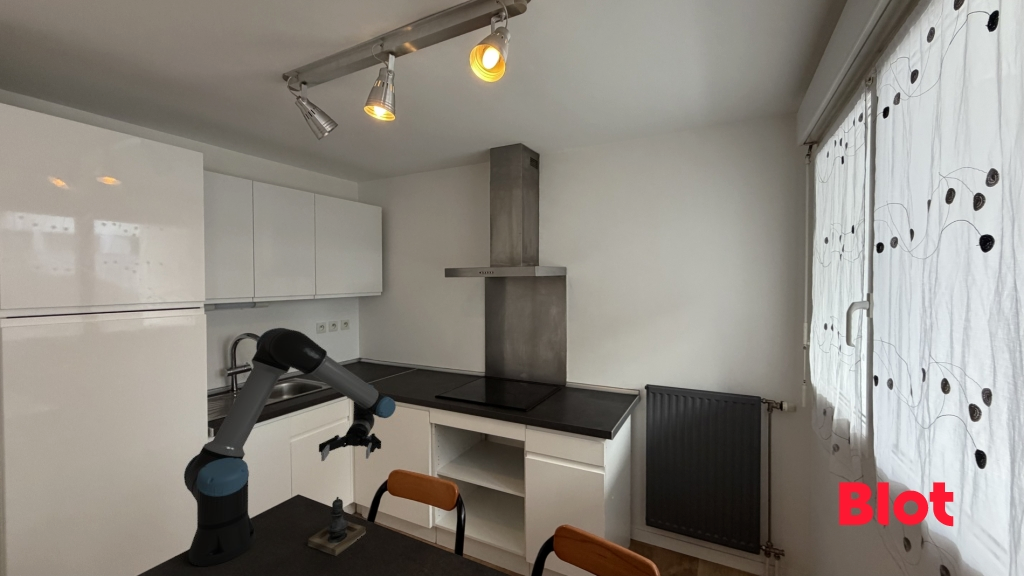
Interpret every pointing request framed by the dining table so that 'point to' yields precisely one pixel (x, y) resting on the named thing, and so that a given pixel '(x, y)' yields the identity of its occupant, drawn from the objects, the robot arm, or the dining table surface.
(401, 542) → the dining table surface
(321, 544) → the square wooden tray
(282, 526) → the dining table surface
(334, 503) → the dark grey tall figure
